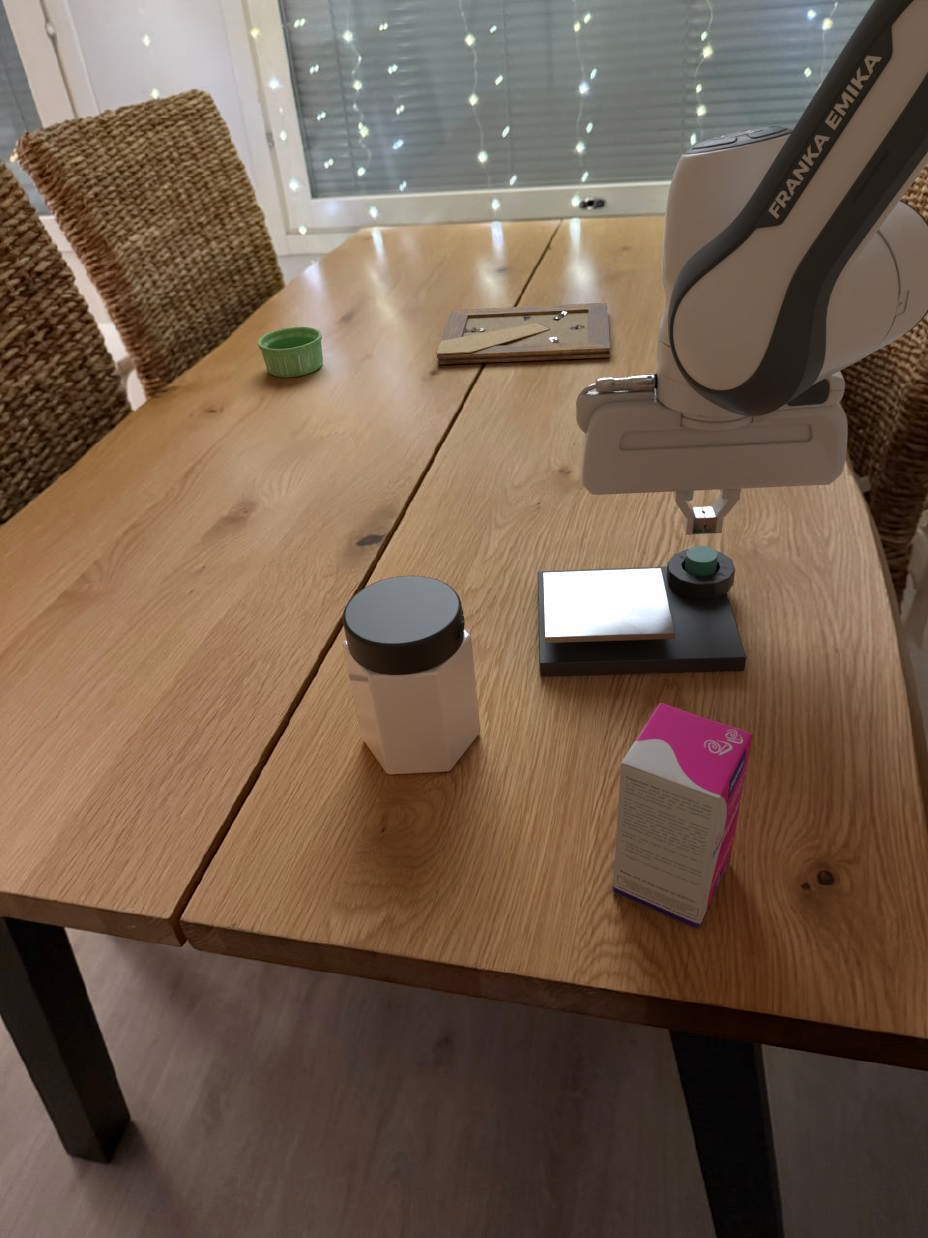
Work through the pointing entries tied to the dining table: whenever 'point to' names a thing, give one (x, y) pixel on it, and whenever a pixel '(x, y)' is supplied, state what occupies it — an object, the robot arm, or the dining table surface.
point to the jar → (411, 673)
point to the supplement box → (678, 812)
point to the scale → (697, 645)
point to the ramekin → (292, 351)
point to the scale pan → (606, 606)
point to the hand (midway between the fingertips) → (702, 530)
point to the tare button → (701, 561)
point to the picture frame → (525, 334)
